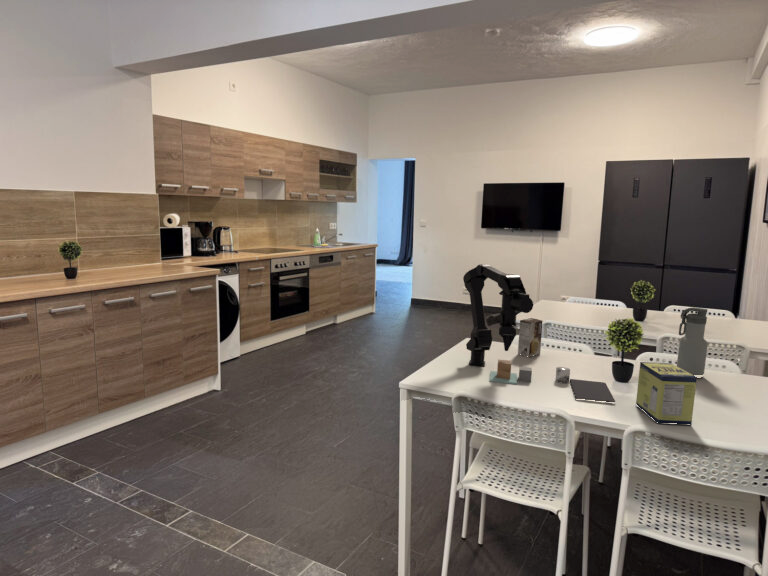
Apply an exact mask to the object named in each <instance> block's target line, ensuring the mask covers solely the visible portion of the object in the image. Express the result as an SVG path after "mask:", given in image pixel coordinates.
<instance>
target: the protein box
mask: <svg viewBox="0 0 768 576" xmlns="http://www.w3.org/2000/svg"><path fill="white" fill-rule="evenodd" d="M639 362H640V364H639V371H638V379H637V381H638V383H637V390H636V391H637V393H636V400H635V401H636V402H635V405H636V404H637V405H638V406H639V407H640V408H641V409H643V410H644V411H645V412H646V413H647V414H648V415H649V416H650V417H652V418H653V419H654V420H655V421H656V422H658V423H677V424H691V425H692V423H693V413H694V405H695V397H696V389H697V387H696V386H697V381H698V379H697V377H695V376H694V375H692V374H690V373H688V372H686V371H684V370H682V369H680V368H679V367H677V365H675V364H673V363H672V362H671V363H670V362H669V363H668V362H650V361H649V362H648V361H647V362H646V361H639ZM650 417H649V418H650ZM656 422H655V423H656Z"/></svg>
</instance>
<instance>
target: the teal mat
mask: <svg viewBox="0 0 768 576" xmlns="http://www.w3.org/2000/svg"><path fill="white" fill-rule="evenodd" d="M517 375H518V373H513V372H511V375H510V379H502V378H497V370H490V375H489V376H490V377H489V383H490V382H491V383H500V384H509V385H518V376H517Z"/></svg>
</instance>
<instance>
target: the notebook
mask: <svg viewBox="0 0 768 576" xmlns="http://www.w3.org/2000/svg"><path fill="white" fill-rule="evenodd" d="M570 383H571V384H570ZM569 384H570V386H572V387H571V389H573V390H572V393H573V392H574V393H573V396H574V395H575V396H574V398H576V399H585V400H595V401H606V402H615V403H616V400H615V398H614V396H613V395H612V392H611V391H610V389H609V387H608V385H607V383H606V382H601V381H592V380H585V379H584V380H582V379H576V378H574V379H573V378H569ZM576 399H575V400H576Z"/></svg>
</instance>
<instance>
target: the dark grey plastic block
mask: <svg viewBox="0 0 768 576" xmlns="http://www.w3.org/2000/svg"><path fill="white" fill-rule="evenodd" d="M518 370H519V371H518V381H519V382H524V383H525V382H526V383H532V373H533V369H532V367H529V366H528V367H527V366H519V368H518Z"/></svg>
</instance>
